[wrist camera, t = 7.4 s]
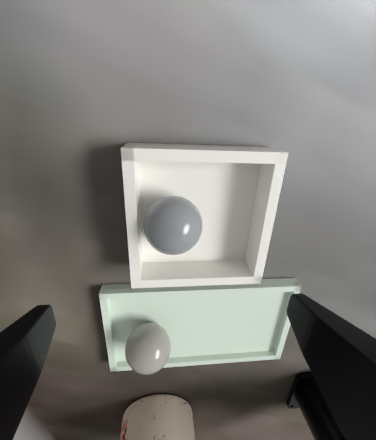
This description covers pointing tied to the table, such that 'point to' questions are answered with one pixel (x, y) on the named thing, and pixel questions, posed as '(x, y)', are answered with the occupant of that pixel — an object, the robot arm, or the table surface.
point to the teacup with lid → (158, 419)
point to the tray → (201, 320)
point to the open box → (203, 210)
